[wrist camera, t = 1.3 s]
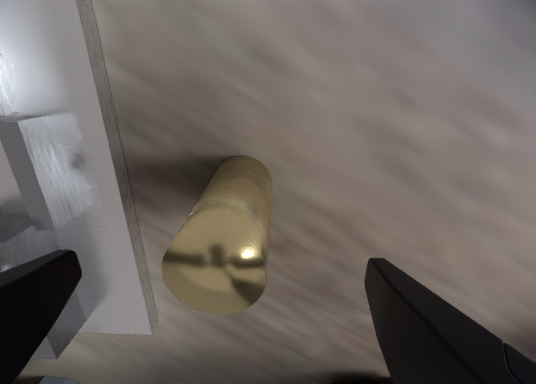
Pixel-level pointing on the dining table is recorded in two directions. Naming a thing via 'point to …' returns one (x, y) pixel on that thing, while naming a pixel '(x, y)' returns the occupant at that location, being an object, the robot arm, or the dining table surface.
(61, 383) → the vise
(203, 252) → the pin
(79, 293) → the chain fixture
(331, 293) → the dining table surface
